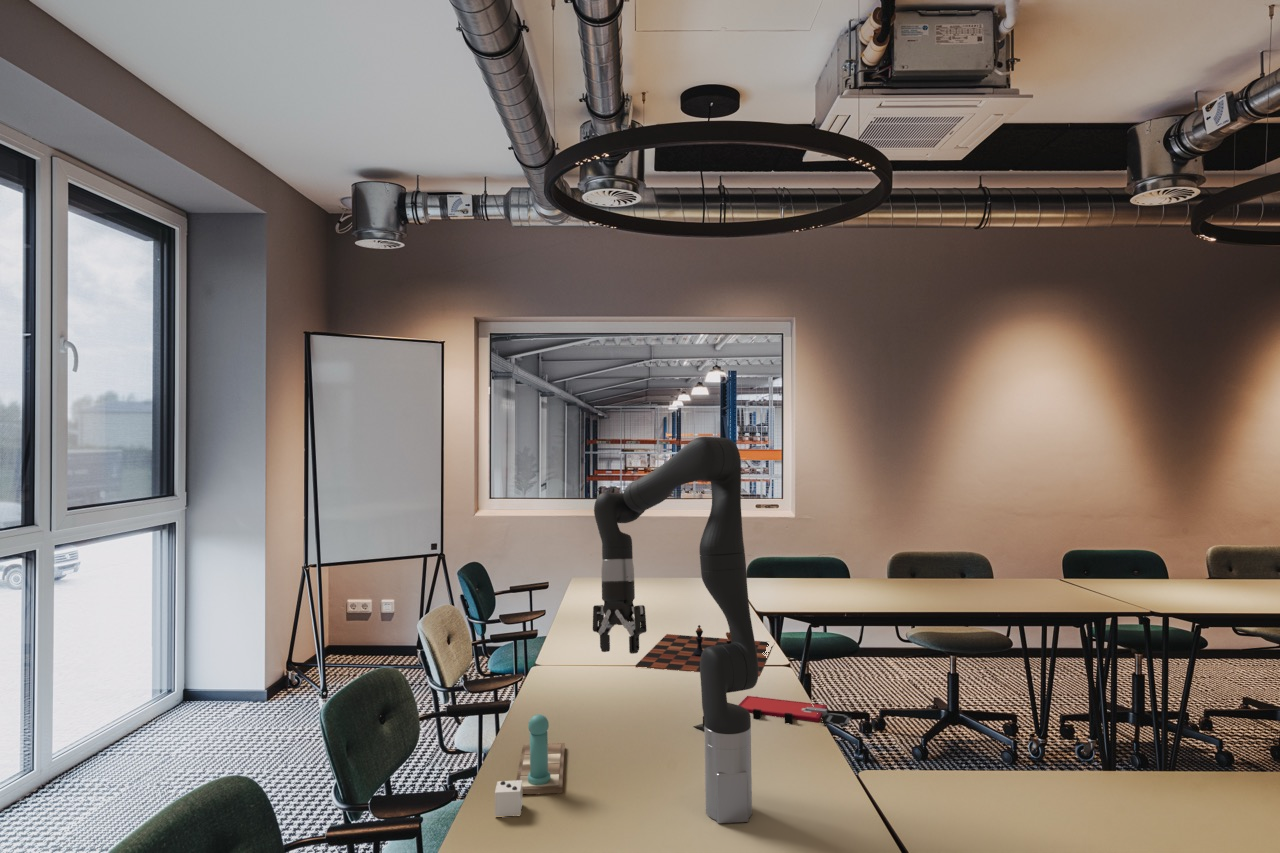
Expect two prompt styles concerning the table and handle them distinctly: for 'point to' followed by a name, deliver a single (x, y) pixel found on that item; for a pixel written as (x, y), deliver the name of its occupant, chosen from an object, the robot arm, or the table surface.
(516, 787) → the die
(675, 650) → the chessboard
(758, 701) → the red board with handle
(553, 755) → the board
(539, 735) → the pawn
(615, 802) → the table surface
